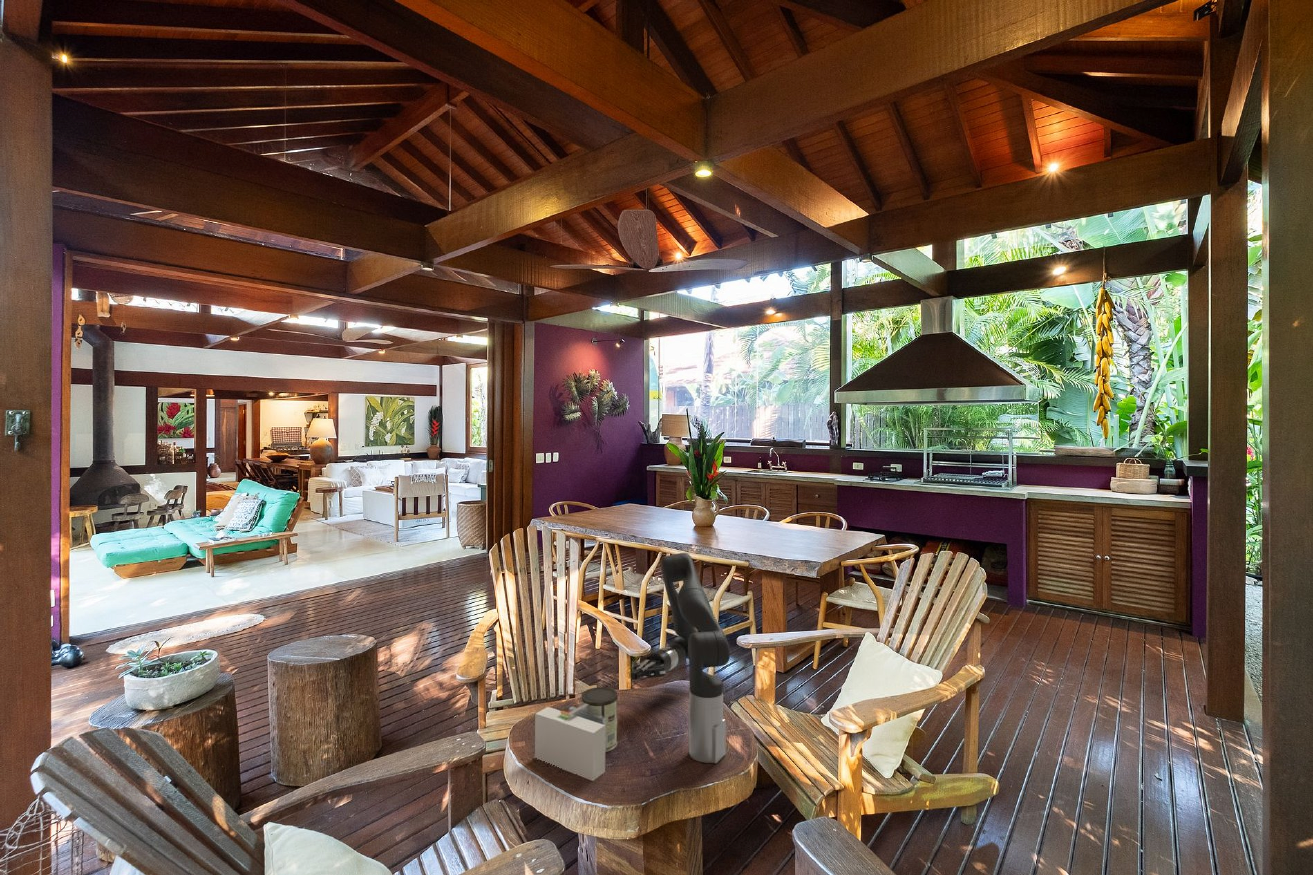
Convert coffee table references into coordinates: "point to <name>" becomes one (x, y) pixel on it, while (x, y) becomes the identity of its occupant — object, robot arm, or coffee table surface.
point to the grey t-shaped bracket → (586, 715)
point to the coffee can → (604, 710)
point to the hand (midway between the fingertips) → (632, 676)
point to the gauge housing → (570, 743)
